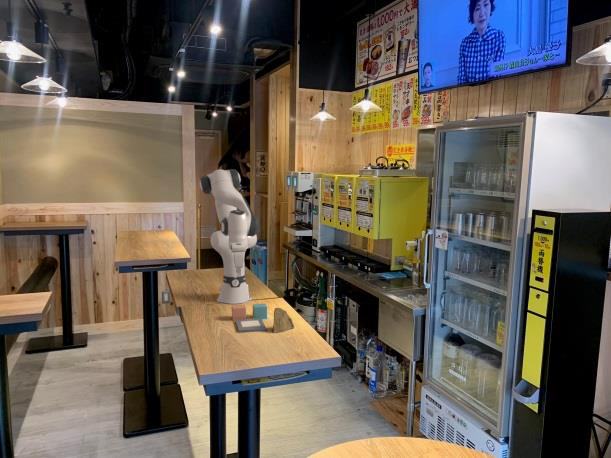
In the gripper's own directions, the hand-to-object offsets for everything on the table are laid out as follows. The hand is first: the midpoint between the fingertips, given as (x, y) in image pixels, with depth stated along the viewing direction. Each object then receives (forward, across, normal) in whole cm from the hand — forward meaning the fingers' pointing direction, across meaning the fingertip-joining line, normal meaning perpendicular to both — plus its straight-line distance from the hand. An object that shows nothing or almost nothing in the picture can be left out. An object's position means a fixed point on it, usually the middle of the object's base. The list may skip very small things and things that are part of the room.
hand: (238, 274), depth 215 cm
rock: (+22, +19, +18) cm, 34 cm away
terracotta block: (+21, -1, 0) cm, 21 cm away
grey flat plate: (+22, +11, +4) cm, 25 cm away
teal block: (+22, -1, +10) cm, 24 cm away
